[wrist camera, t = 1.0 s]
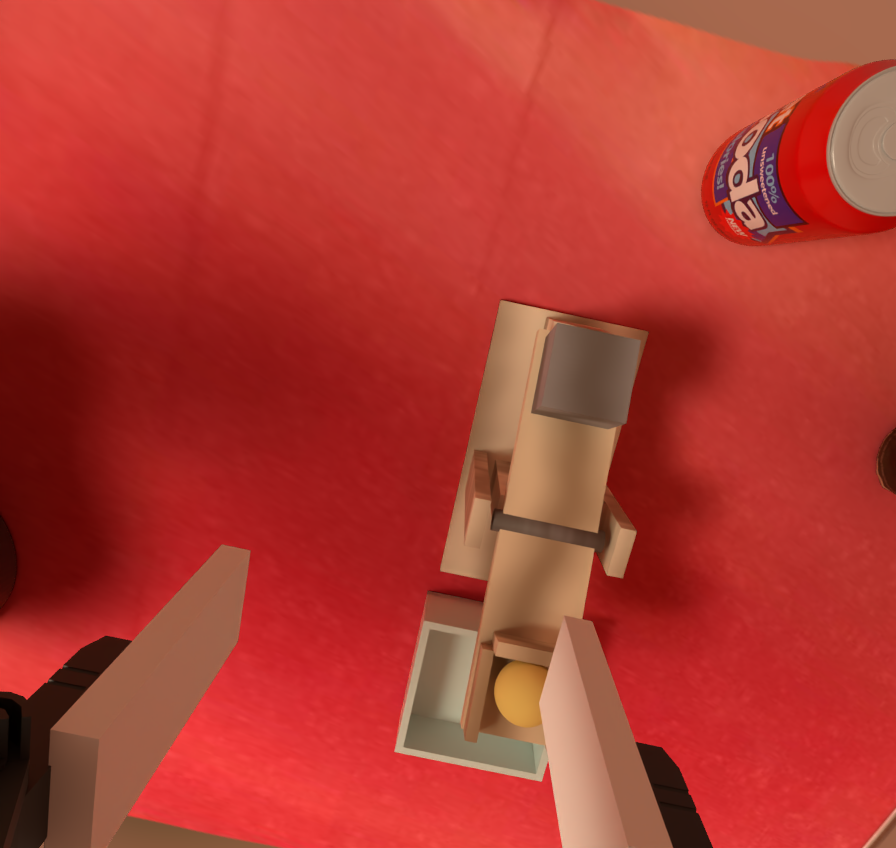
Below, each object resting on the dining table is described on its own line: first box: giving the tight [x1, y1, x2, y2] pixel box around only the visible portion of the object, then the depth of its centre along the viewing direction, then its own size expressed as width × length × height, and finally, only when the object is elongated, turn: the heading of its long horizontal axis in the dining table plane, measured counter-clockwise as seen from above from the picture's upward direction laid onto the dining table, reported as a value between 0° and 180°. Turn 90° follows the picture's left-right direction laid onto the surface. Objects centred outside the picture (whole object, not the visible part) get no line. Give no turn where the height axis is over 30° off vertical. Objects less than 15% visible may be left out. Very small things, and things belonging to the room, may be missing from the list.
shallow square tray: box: [395, 591, 548, 782], centre depth 50 cm, size 12×12×4 cm
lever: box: [460, 323, 641, 751], centre depth 36 cm, size 7×25×5 cm, turn 168°
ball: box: [494, 660, 548, 728], centre depth 35 cm, size 4×4×4 cm
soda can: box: [701, 59, 896, 246], centre depth 35 cm, size 8×8×15 cm
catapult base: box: [440, 300, 649, 581], centre depth 42 cm, size 11×22×11 cm, turn 168°
